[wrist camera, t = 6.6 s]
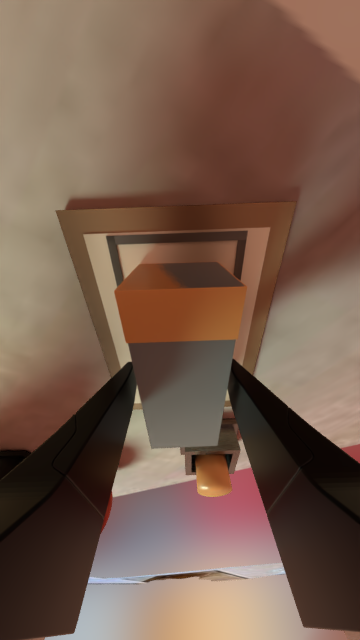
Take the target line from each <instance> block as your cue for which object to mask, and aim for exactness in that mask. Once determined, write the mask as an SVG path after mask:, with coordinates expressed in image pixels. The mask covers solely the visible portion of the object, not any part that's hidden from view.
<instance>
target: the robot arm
mask: <svg viewBox="0 0 360 640" xmlns="http://www.w3.org/2000/svg"><path fill="white" fill-rule="evenodd" d="M136 388H137V382H136V377H135V373H134V368H133V364H132V362H127V363H126V364H125V365H124V366H123V367H122V368H121V369H120V370H119V371H118V372H117V373H116V374H115V375H114V376H113V377H112V378H111V379H110V380H109V381H108V382H107V383H106V384H105V385H104V386H103V387H102V388H101V389H100V390H99V391H98V392H97V393H96V394H95V395H94V396H93V397H92V398H91V399H90V400H88V401H87V402H86V403H85V404H84V405H83V406H82V407H81V408H80V409H79V410H78V411H77V412H76V415H75V414H74V415H73V416H72V417H71V418H70V419H69V420H68V421H67V422H66V423H65V424H64V425H63V426H62V427H61V428H60V429H59V430H57V431H56V432H55V433H54V434H53V435H52V436H51V437H50V438H49V439H47V440H46V441H45V442H44V443H43V444H42V445H41V446H40V447H38V448H37V449H36V450H35V451H34V452H33V453H31V454H29V453H27V452H25V451H10V452H0V640H44V639H45V637H51V636H58V635H66V634H73V633H74V632H75V628H76V624H77V621H78V617H79V614H80V610H81V606H82V602H83V598H84V594H85V591H86V586H87V583H88V579H89V575H90V572H91V568H92V564H93V560H94V556H95V552H96V548H97V544H98V541H99V537H100V533H101V529H102V526H103V522H104V517H105V514H106V510H107V506H108V502H109V498H110V495H111V491H112V487H113V483H114V479H115V475H116V472H117V468H118V464H119V460H120V456H121V453H122V449H123V445H124V441H125V437H126V433H127V430H128V426H129V422H130V418H131V414H132V411H133V406H134V402H135V395H136ZM227 389H228V394H229V399H230V403H231V406H232V409H233V412H234V415H235V418H236V421H237V424H238V427H239V430H240V434H241V437H242V440H243V443H244V446H245V449H246V452H247V455H248V458H249V461H250V464H251V467H252V470H253V474H254V477H255V480H256V483H257V486H258V489H259V492H260V495H261V498H262V501H263V504H264V507H265V510H266V513H267V517H268V520H269V523H270V526H271V529H272V532H273V535H274V538H275V541H276V544H277V548H278V551H279V554H280V557H281V560H282V563H283V566H284V569H285V572H286V575H287V578H288V581H289V585H290V587H291V591H292V594H293V596H294V600H295V603H296V606H297V609H298V612H299V615H300V618H301V621H302V624H303V626H304V627H306V628H318V629H330V630H341V631H344V633H345V635H346V637H347V640H360V463H358V462H357V461H356V460H355V459H353V458H352V457H350V456H349V455H348V454H347V453H345V452H344V451H343V450H341V449H340V448H339V447H338V446H336V445H335V444H334V443H332V442H331V441H330V440H328V439H327V438H326V437H324V436H323V435H322V434H321V433H319V432H318V431H317V430H316V429H314V428H313V427H312V426H311V425H309V424H308V423H307V422H306V421H305V420H303V419H302V418H301V417H300V416H299V415H297V414H296V413H295V412H294V411H293V410H292V409H291V408H288V406H287V405H286V404H285V403H284V402H283V401H281V400H280V399H279V398H278V397H277V396H276V395H275V394H273V393H272V392H271V391H270V390H269V389H268V388H267V387H266V386H264V385H263V384H262V383H261V382H260V381H259V380H258V379H256V378H255V377H254V376H253V375H252V374H251V373H250V372H248V371H247V370H246V369H245V368H244V367H243V366H242V365H240V364H239V363H238V362H237V361H236V360H235V359H232V364H231V370H230V376H229V382H228V387H227Z"/></svg>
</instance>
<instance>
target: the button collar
mask: <svg viewBox="0 0 360 640" xmlns="http://www.w3.org/2000/svg"><path fill="white" fill-rule="evenodd" d="M238 428H239V427H238V424H237V421H236V419H222V422H221V428H220V433H219V439H218V445H217V446H200V447H180V450H181V455H185V469H186V475H196V463H195V456H196V455H203V454H225V457H226V462H227V467H228V472H229V474H233V473H234V471H235V467H236V464H237V460H238V457H239V454H240V447H239V443H238V439H237V432H238Z"/></svg>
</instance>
